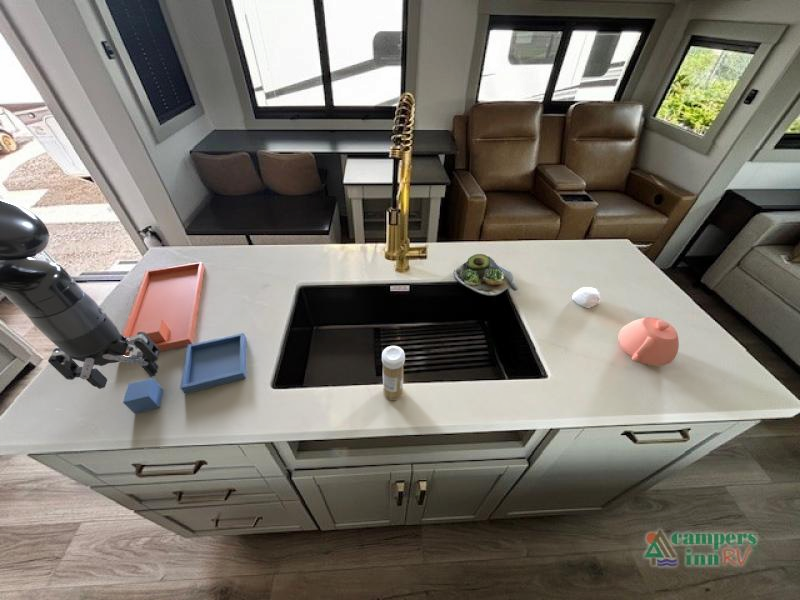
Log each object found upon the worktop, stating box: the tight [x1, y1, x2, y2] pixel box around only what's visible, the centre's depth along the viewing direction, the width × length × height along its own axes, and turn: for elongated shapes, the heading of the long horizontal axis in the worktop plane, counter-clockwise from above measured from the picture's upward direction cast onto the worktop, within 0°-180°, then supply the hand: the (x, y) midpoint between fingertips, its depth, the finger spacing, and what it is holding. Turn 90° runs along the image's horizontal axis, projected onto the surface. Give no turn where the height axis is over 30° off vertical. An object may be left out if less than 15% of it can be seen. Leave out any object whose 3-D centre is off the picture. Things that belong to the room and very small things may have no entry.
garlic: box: [571, 286, 601, 309], centre depth 95 cm, size 8×7×4 cm
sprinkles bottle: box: [381, 345, 406, 401], centre depth 68 cm, size 5×5×14 cm
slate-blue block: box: [122, 377, 164, 415], centre depth 67 cm, size 4×4×4 cm
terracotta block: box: [138, 319, 170, 344], centre depth 79 cm, size 4×4×4 cm
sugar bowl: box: [617, 316, 680, 367], centre depth 79 cm, size 12×14×10 cm
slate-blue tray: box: [180, 332, 247, 394], centre depth 76 cm, size 13×13×2 cm
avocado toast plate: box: [453, 253, 519, 297], centre depth 101 cm, size 19×18×5 cm
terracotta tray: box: [121, 261, 206, 357], centre depth 89 cm, size 16×34×2 cm, turn 19°
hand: (129, 378), depth 63 cm, fingers open, 8 cm apart
